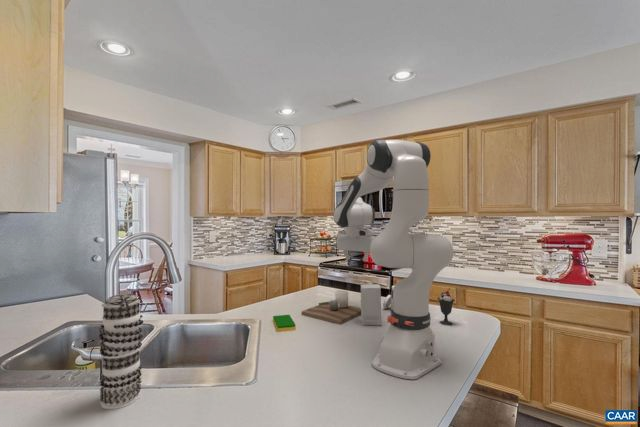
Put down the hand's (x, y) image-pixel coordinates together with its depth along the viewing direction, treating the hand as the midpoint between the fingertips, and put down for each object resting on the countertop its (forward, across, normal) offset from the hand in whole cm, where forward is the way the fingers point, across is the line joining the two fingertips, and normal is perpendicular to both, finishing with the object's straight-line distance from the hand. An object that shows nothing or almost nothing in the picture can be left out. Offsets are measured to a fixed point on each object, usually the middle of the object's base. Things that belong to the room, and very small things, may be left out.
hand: (356, 260), depth 151 cm
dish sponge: (+22, -12, -38) cm, 45 cm away
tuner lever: (+21, -5, -9) cm, 23 cm away
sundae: (+25, +39, +6) cm, 46 cm away
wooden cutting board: (+23, -5, -13) cm, 27 cm away
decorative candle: (+18, -6, -100) cm, 101 cm away
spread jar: (+24, +15, +9) cm, 30 cm away
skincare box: (+23, +14, -13) cm, 30 cm away
